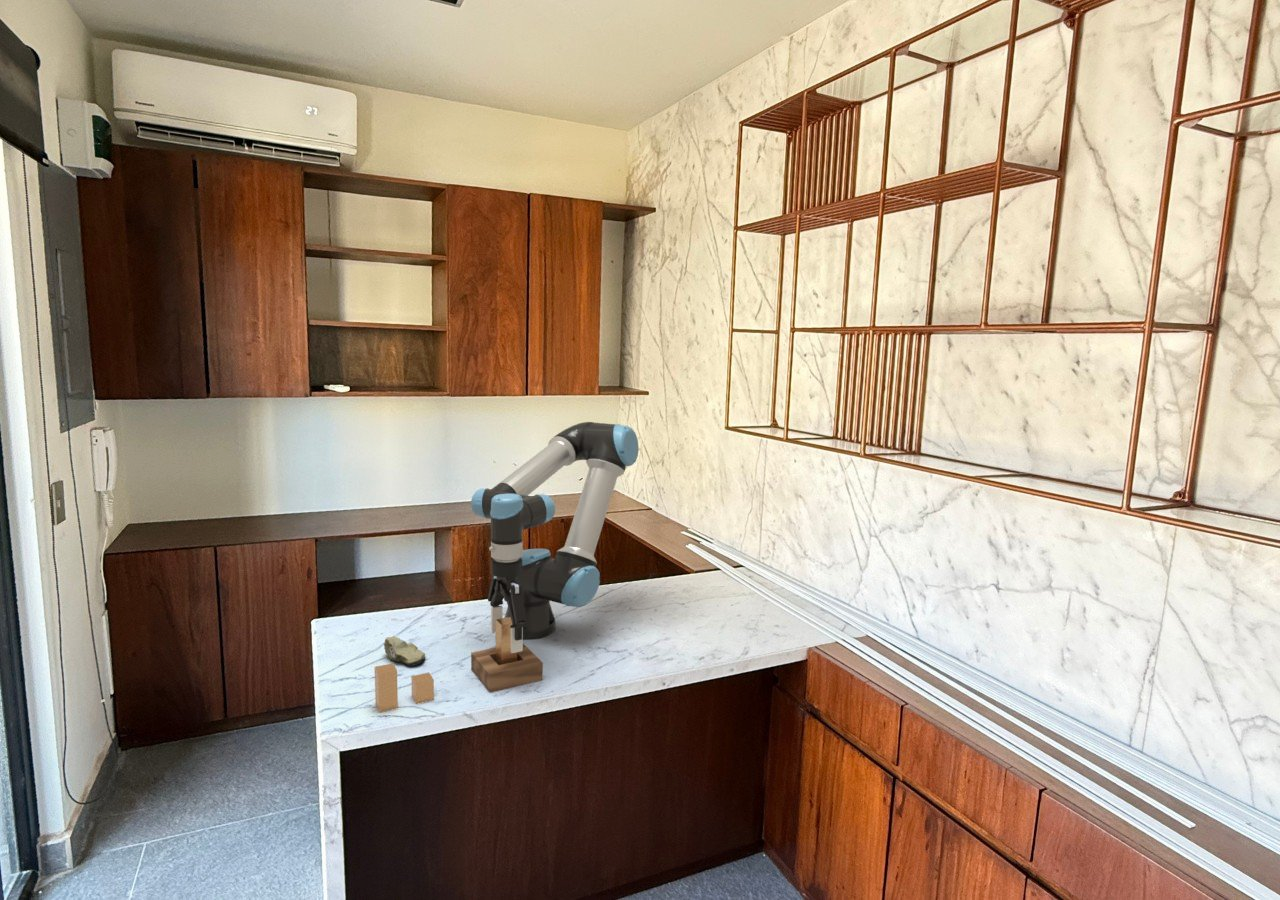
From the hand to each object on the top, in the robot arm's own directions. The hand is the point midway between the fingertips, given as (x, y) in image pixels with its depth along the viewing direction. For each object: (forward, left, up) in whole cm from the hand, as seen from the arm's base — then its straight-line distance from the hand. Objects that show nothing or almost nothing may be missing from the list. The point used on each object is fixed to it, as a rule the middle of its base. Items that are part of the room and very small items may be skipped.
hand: (506, 641), depth 171 cm
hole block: (0, 0, -9) cm, 9 cm away
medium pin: (+2, -29, -9) cm, 30 cm away
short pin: (+2, -21, -9) cm, 23 cm away
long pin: (0, 0, -9) cm, 9 cm away
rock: (-20, -20, -9) cm, 30 cm away
